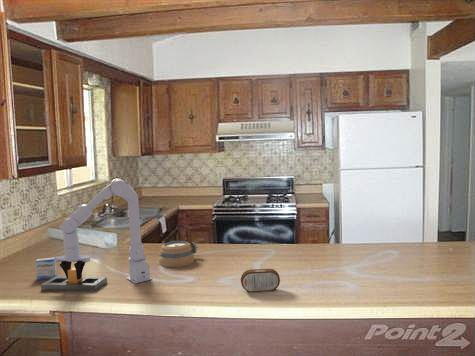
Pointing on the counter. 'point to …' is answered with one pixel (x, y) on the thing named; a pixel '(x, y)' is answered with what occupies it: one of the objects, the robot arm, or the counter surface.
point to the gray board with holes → (74, 284)
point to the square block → (73, 276)
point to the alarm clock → (177, 253)
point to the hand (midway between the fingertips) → (74, 278)
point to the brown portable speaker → (260, 280)
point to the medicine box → (46, 268)
